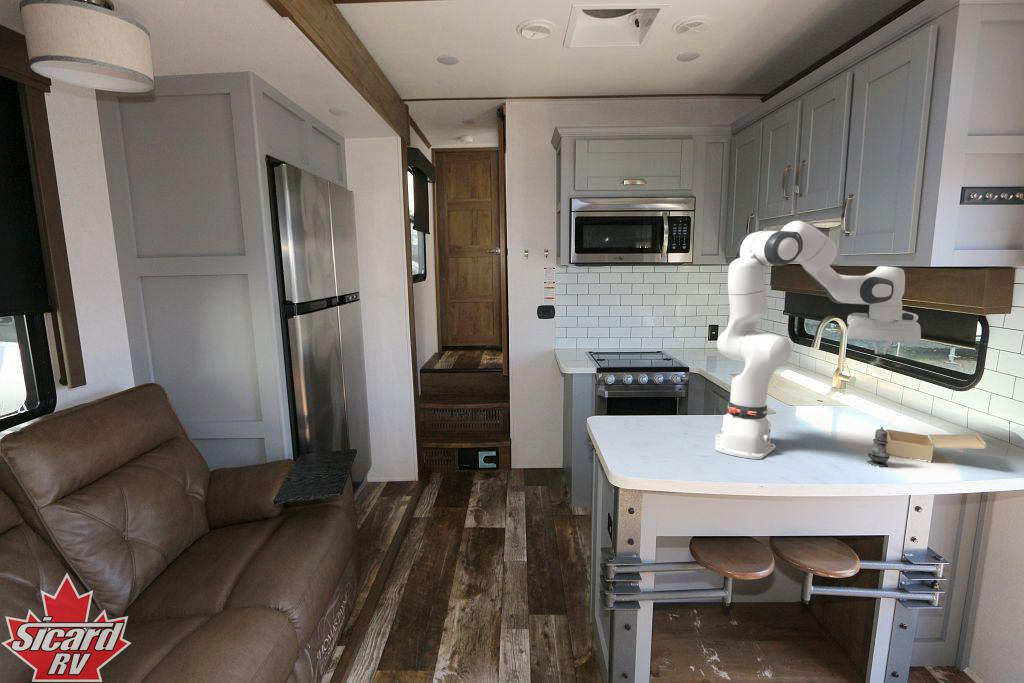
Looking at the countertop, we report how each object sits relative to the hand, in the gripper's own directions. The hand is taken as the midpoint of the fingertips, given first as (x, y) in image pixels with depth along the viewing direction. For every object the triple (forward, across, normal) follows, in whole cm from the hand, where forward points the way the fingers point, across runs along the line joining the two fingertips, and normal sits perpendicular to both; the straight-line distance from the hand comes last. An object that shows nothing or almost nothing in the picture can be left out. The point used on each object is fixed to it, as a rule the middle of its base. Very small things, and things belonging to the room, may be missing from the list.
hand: (880, 353), depth 166 cm
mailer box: (+31, +10, -8) cm, 33 cm away
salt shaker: (+31, +1, -26) cm, 41 cm away
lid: (+24, +21, -7) cm, 33 cm away
